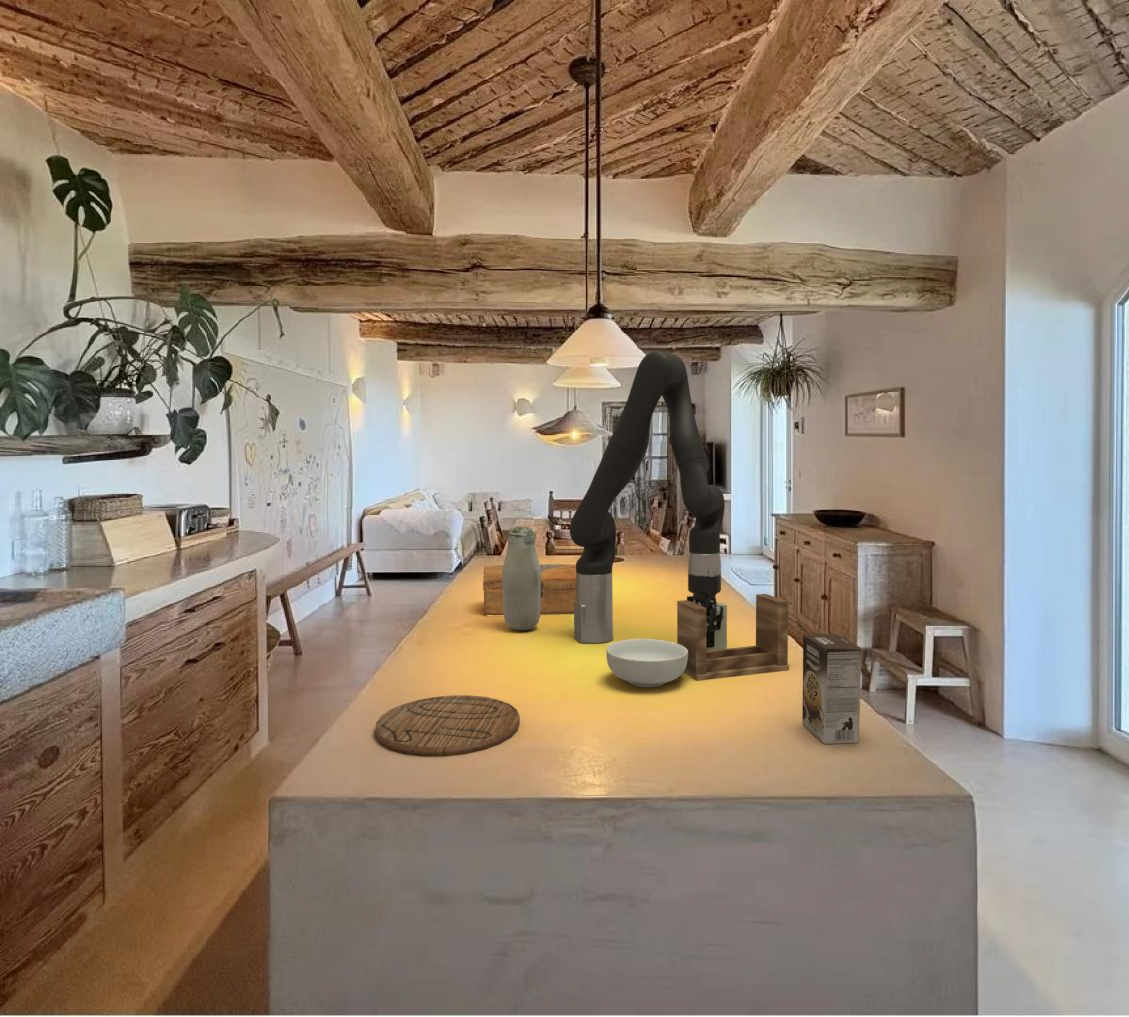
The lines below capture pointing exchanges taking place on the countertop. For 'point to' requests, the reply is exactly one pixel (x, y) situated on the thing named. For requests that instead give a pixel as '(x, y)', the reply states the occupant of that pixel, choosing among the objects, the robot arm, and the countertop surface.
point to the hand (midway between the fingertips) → (704, 643)
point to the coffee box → (831, 688)
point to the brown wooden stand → (739, 660)
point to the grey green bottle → (521, 580)
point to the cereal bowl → (647, 661)
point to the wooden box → (554, 589)
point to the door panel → (720, 631)
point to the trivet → (447, 725)
